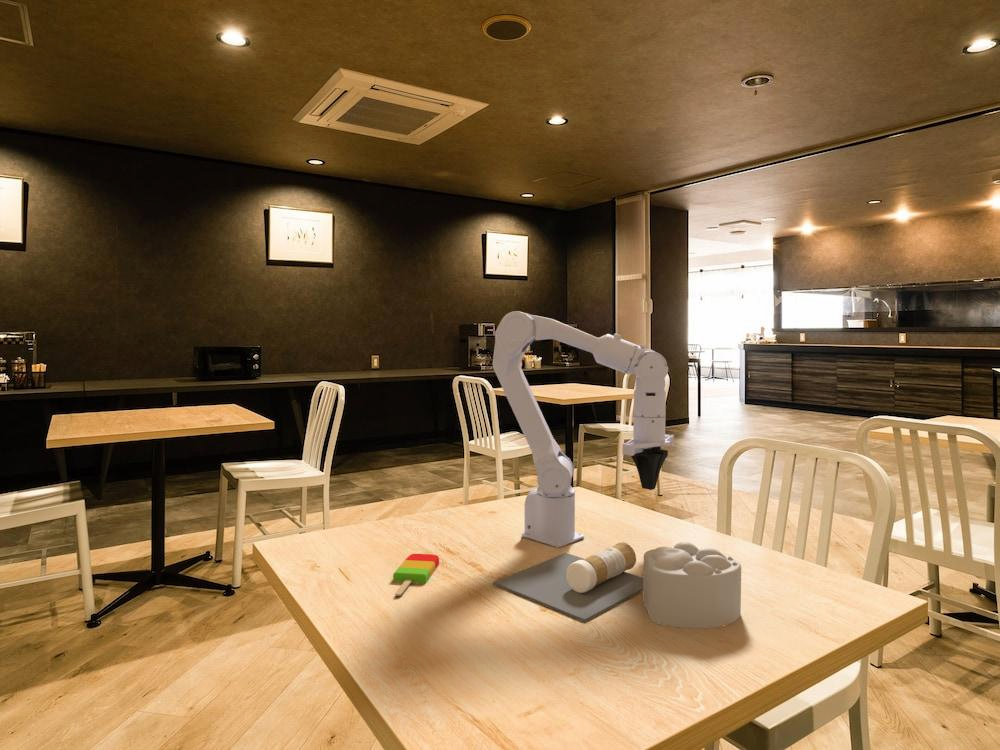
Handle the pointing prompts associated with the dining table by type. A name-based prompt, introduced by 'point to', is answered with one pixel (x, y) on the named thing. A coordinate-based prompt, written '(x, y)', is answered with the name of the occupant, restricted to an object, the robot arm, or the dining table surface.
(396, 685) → the dining table surface
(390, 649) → the dining table surface
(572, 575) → the sprinkles bottle
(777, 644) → the dining table surface
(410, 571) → the popsicle
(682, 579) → the lumpy-topped squat cylinder
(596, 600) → the rubber mat
